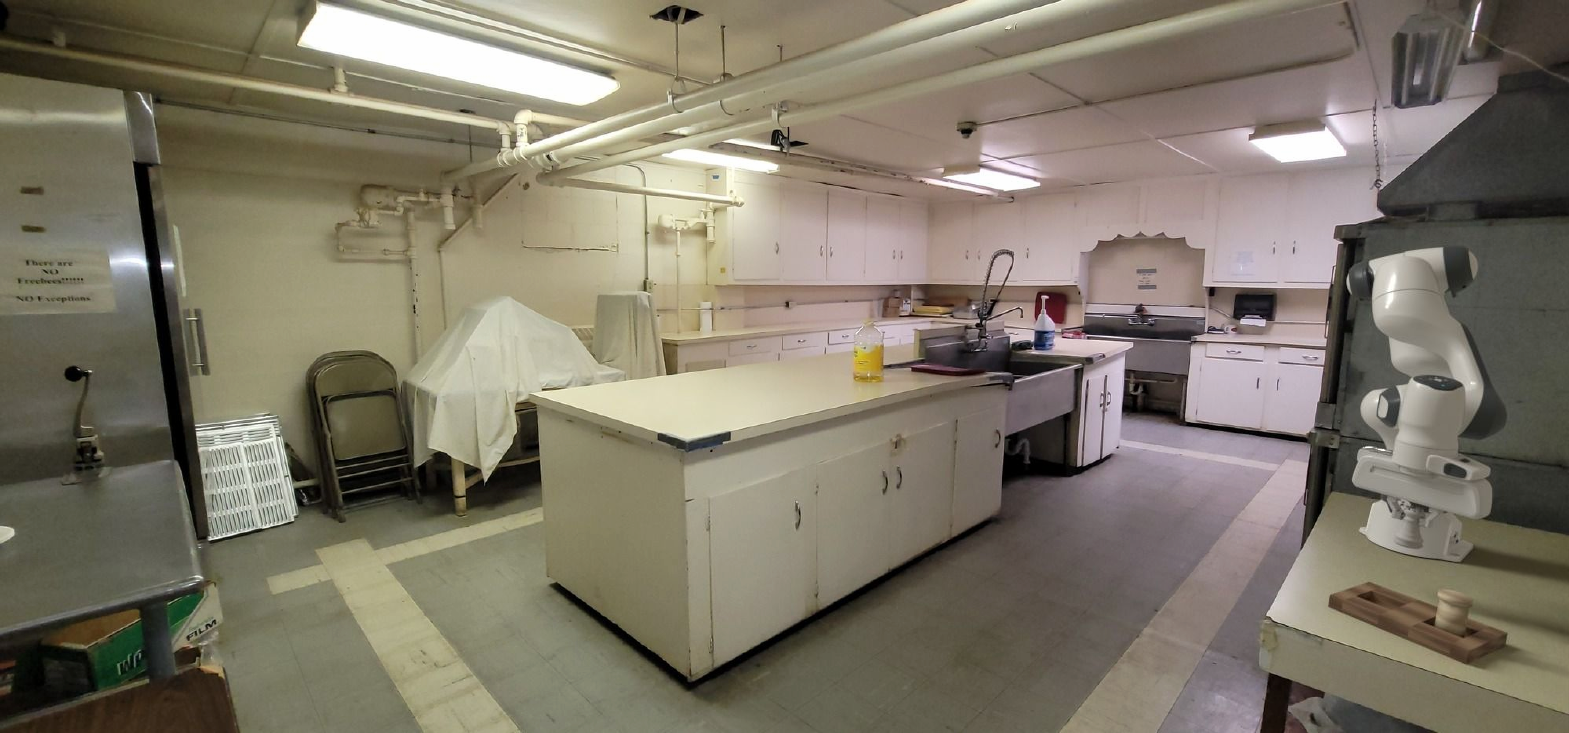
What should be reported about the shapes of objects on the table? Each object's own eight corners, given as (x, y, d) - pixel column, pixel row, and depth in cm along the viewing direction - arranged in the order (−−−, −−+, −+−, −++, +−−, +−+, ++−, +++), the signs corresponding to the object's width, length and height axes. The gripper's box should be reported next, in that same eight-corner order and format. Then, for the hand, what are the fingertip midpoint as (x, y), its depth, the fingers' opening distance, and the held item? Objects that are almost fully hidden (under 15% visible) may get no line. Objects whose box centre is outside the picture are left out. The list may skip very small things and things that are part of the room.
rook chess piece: (1426, 551, 126) (1434, 514, 124) (1395, 546, 128) (1403, 509, 126) (1419, 543, 129) (1426, 506, 128) (1389, 537, 132) (1397, 502, 130)
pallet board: (1367, 592, 131) (1373, 554, 129) (1505, 645, 112) (1514, 601, 111) (1328, 606, 125) (1334, 566, 124) (1466, 664, 107) (1475, 617, 106)
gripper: (1351, 445, 133) (1341, 506, 136) (1486, 475, 115) (1472, 546, 117) (1367, 441, 136) (1357, 501, 138) (1503, 471, 117) (1488, 540, 120)
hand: (1411, 522), depth 128 cm, fingers closed on rook chess piece, 3 cm apart
